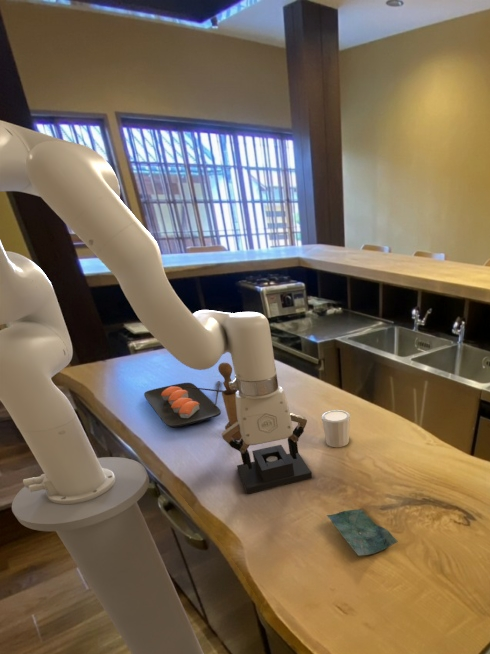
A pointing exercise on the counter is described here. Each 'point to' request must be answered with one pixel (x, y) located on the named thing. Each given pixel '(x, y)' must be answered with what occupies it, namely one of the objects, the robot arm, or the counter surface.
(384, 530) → the nori seaweed sheet
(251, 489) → the base pad
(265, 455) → the black block with hole
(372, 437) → the counter surface
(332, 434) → the white cup
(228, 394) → the wooden pepper mill
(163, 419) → the sushi plate
